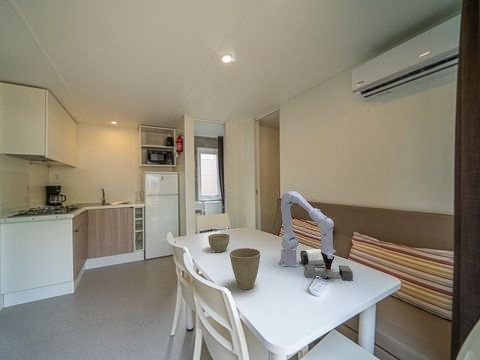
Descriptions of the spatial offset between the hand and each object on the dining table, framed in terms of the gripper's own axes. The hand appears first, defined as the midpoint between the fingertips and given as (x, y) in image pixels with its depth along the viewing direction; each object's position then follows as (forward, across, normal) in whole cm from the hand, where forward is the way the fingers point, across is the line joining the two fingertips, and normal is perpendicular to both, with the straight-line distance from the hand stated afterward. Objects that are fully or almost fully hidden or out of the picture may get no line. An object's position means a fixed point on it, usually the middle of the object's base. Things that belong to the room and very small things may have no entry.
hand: (327, 267), depth 108 cm
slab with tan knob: (+4, 0, +2) cm, 4 cm away
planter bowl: (+4, +32, +70) cm, 77 cm away
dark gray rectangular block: (+4, 0, -9) cm, 10 cm away
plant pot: (+4, -17, +41) cm, 44 cm away
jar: (0, +18, 0) cm, 18 cm away
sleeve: (+4, 0, +6) cm, 7 cm away
